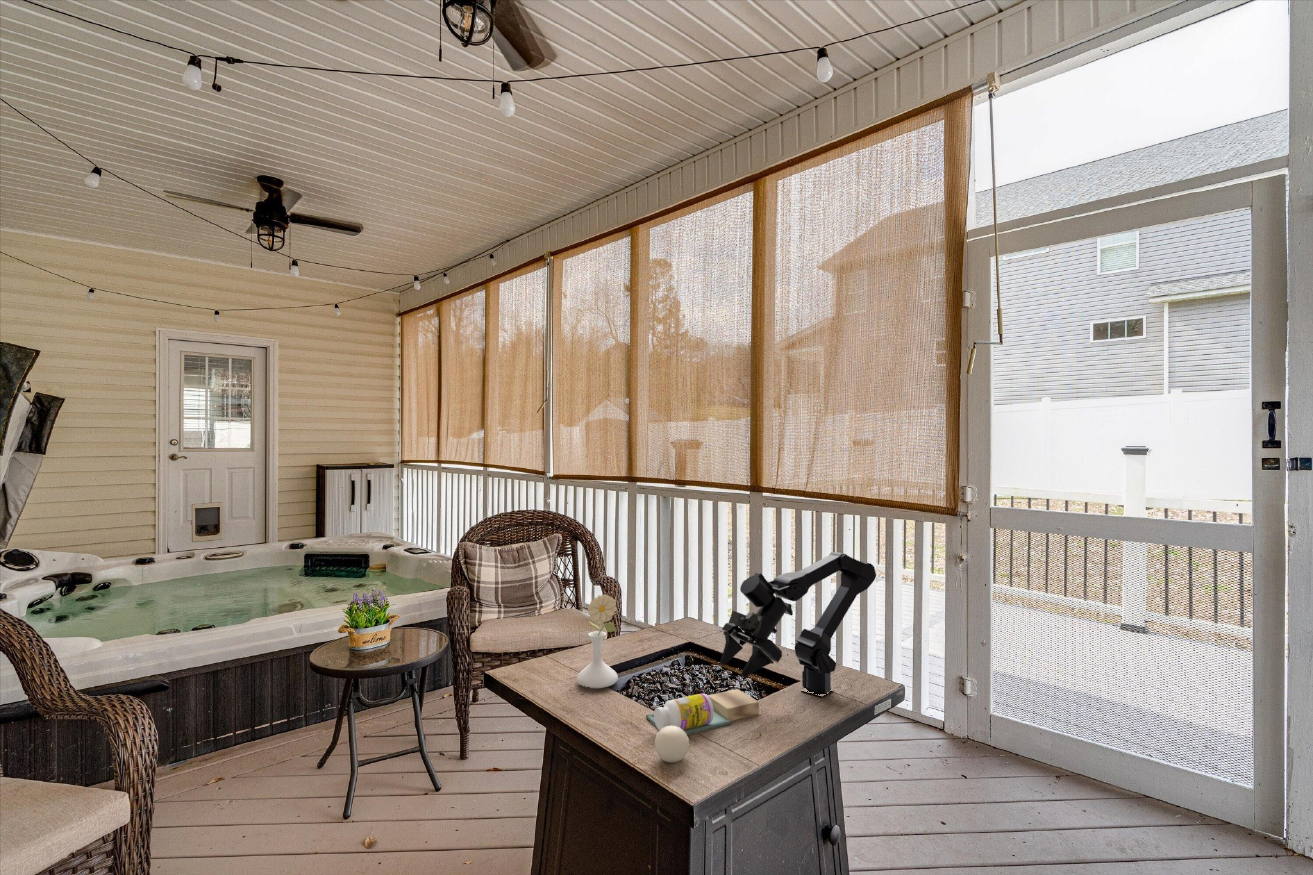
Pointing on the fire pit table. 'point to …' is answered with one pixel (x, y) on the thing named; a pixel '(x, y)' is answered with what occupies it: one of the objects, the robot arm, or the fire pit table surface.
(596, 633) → the flower in vase
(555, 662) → the fire pit table surface
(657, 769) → the fire pit table surface
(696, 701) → the supplement bottle
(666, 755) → the cream white ball
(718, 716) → the tray
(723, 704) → the block
